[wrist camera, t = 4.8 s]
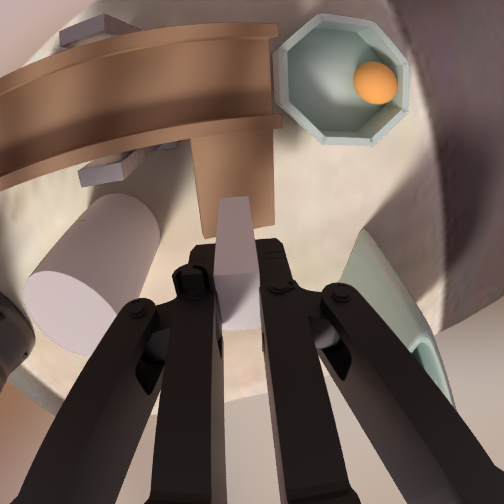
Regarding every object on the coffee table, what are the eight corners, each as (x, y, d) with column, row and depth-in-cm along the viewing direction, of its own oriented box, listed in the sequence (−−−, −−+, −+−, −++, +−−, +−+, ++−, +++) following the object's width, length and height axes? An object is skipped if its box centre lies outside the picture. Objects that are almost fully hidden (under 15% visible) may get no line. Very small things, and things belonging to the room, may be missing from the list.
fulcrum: (123, 154, 22) (69, 198, 14) (109, 42, 17) (44, 31, 9) (177, 146, 23) (144, 186, 14) (167, 27, 17) (124, -1, 9)
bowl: (275, 136, 22) (281, 145, 20) (270, 20, 17) (275, 10, 14) (386, 139, 23) (405, 148, 20) (387, 33, 17) (408, 29, 14)
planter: (296, 264, 30) (345, 459, 13) (365, 226, 28) (470, 401, 11) (348, 344, 37) (387, 476, 21) (399, 317, 35) (456, 444, 19)
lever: (16, 278, 16) (5, 301, 14) (-36, 105, 9) (-58, 111, 7) (270, 219, 21) (286, 237, 19) (263, 30, 14) (282, 22, 12)
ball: (402, 109, 17) (390, 105, 20) (403, 64, 15) (390, 66, 18) (356, 103, 18) (350, 100, 21) (356, 57, 16) (349, 60, 19)
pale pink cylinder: (89, 184, 24) (15, 255, 14) (168, 206, 25) (127, 295, 15) (84, 253, 28) (33, 335, 18) (152, 274, 30) (122, 368, 19)
